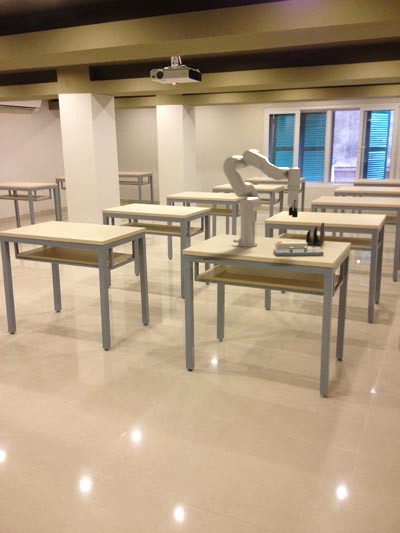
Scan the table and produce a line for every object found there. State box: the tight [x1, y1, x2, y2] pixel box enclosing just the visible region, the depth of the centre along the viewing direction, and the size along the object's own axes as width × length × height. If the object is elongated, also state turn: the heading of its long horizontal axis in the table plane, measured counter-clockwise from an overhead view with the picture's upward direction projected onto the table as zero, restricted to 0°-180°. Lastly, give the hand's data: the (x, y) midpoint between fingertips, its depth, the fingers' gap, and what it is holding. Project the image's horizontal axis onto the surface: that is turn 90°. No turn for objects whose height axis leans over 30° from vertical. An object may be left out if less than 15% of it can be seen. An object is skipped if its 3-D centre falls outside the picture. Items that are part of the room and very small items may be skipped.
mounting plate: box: [273, 246, 325, 257], centre depth 296 cm, size 28×10×4 cm, turn 92°
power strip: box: [274, 241, 308, 249], centre depth 306 cm, size 19×6×6 cm, turn 92°
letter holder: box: [305, 222, 325, 247], centre depth 328 cm, size 10×20×14 cm, turn 161°
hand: (293, 216), depth 302 cm, fingers open, 9 cm apart
